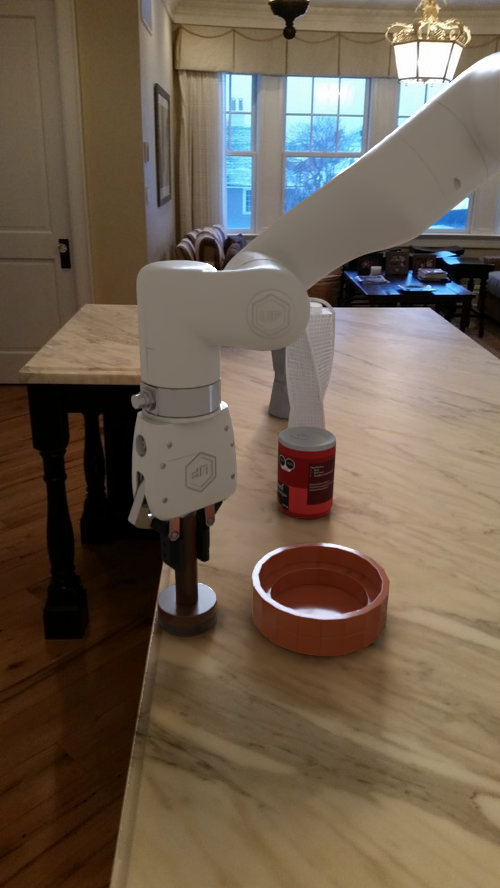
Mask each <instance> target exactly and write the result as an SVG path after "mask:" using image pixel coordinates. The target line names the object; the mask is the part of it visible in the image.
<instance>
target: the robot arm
mask: <svg viewBox="0 0 500 888" xmlns="http://www.w3.org/2000/svg"><path fill="white" fill-rule="evenodd" d="M499 172H500V51H497V52H494V53H491V54H489V55H487V56H485V57H483V58H481V59H479V60H477V61H476V62H475V63H473V64H472V65H471V66H470V67H468V68H467V69H465V70H464V71H463V72H461V73H460V74H459V75H458V76H457V77H456V78H454V79H453V80H452V81H451V82H449V83H448V84H447V85H446V86H445V87H444V88H443V89H442V90H440V91H439V92H438V93H436V95H434V96H433V97H431V99H429V100H428V101H427V102H425V104H423V105H422V106H421V107H420V108H418V109H417V110H416V111H415V112H414V113H413V114H412V115H410V116H409V117H408V118H407V119H406V120H405V121H404V122H402V123H401V124H400V125H399V126H398V127H396V128H395V129H394V130H393V131H391V132H390V133H389V134H388V135H387V136H385V137H384V138H383V139H382V140H381V141H379V142H378V143H377V144H376V145H374V146H373V147H372V148H371V149H369V150H368V151H367V152H366V153H365V154H363V155H362V156H360V158H358V159H357V160H356V161H355V162H353V163H352V164H350V165H349V166H347V167H345V168H344V169H343V170H341V171H340V172H338V173H337V174H336V175H335V176H334V177H332V178H331V179H330V180H328V181H327V182H326V183H325V184H324V185H322V186H321V187H320V188H318V189H316V190H315V191H314V192H313V193H311V194H310V195H309V196H308V195H307V197H305V198H304V199H303V200H301V201H300V202H298V203H297V204H296V205H294V206H293V207H292V208H290V209H289V210H287V212H285V213H283V215H281V216H280V217H279V218H277V219H276V220H275V221H273V222H272V223H271V224H270V225H269V226H268V227H267V228H265V229H264V230H263V231H262V232H260V233H259V234H257V236H255V238H254V239H252V240H251V241H250V242H249V243H247V244H246V245H245V246H244V247H242V249H240V250H239V251H238V252H237V253H236V254H235V255H234V256H233V257H232V258H231V259H230V260H229V261H228V262H227V264H226V265H225V267H224V268H223V270H217V269H216V268H215V267H213V265H211V264H209V263H206V262H203V261H197V260H186V259H185V260H184V259H183V260H182V259H175V260H174V259H173V260H161V261H154V262H150V263H148V264H145V265H144V266H142V267H141V269H140V270H139V271H138V274H137V276H136V285H135V286H136V287H135V289H136V305H137V306H136V308H137V328H138V330H137V331H138V346H139V347H138V349H139V369H140V382H139V390H140V391H139V392H138V393H136V394H132V395H131V398H130V401H131V405H132V407H133V408H134V410H139V409H142V410H140V411H138V412H137V414H136V421H135V425H134V432H133V441H132V456H131V485H132V496H133V502H132V506H131V508H130V512H129V515H128V518H127V522H128V523H129V525H132V526H133V527H135V528H136V529H143V530H144V529H145V530H154V531H155V532H157V533H159V543H160V557H161V560H162V562H163V563H164V565H167V566H168V567H169V568H171V570H172V569H173V570H174V572H175V571H176V572H178V573H181V572H184V570H185V540H184V538H183V537H181V536H180V516H183V515H186V514H188V513H191V512H194V511H196V525H197V560H198V561H200V562H202V563H206V562H209V561H210V547H211V529H210V528H211V527H212V526H213V525H214V524H215V523H216V514H217V512H218V511H219V510H220V508H221V506H222V505H223V503H224V501H226V500H227V499H228V498H230V497H231V496H232V495H234V493H235V492H236V490H237V485H238V468H237V467H238V463H237V451H236V440H235V433H234V426H233V421H232V417H231V414H230V413H231V412H230V409H229V406H228V404H227V403H226V402H224V401H223V400H222V357H221V356H222V347H229V348H236V349H243V350H249V351H259V352H260V351H261V352H269V351H270V352H271V351H272V350H278V349H281V348H284V347H286V346H288V345H290V344H292V343H293V342H295V341H296V340H297V339H298V338H299V337H300V336H301V335H302V334H303V332H304V331H305V329H306V327H307V325H308V322H309V319H310V311H311V306H310V302H311V301H310V300H309V297H310V296H309V294H308V290H309V289H311V288H312V287H313V286H314V285H315V284H317V283H318V282H320V281H321V280H322V279H324V278H325V277H326V276H328V275H329V274H331V273H332V272H334V271H335V270H337V269H339V268H340V267H342V266H343V265H345V264H347V263H349V262H350V261H351V262H352V261H353V260H355V259H357V258H359V257H362V256H364V255H368V254H372V253H375V252H379V251H384V250H388V249H392V248H395V247H397V246H400V245H403V244H404V243H405V244H406V243H408V242H410V241H411V240H415V239H416V238H418V237H420V236H421V235H422V234H424V233H425V232H426V231H427V230H429V229H430V228H431V227H433V225H434V224H436V223H437V222H438V221H440V220H441V219H442V218H443V217H445V216H446V215H447V214H448V213H449V212H450V211H452V210H453V209H454V208H456V207H457V206H458V205H459V204H460V203H462V202H463V201H464V200H466V199H467V198H468V197H469V196H470V195H472V194H473V193H474V192H476V191H477V190H478V189H479V188H480V187H482V186H483V185H484V184H485V183H487V182H488V181H489V180H491V179H492V178H493V177H494V176H496V175H497V174H498V173H499Z"/></svg>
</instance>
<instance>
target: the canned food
mask: <svg viewBox="0 0 500 888" xmlns="http://www.w3.org/2000/svg"><path fill="white" fill-rule="evenodd" d="M287 428H288V427H287ZM287 428H286V429H283V430H281V431H280V432H279V434H278V441H277V475H276V476H277V477H276V479H277V480H276V482H277V483H276V502H277V507H278V509H279V510H280V511H281V512H282V513H283V514H285V515H286V516H289V517H292V518H295V519H302V520H313V519H318V518H322V517H324V516H326V515H328V514H329V513H330V511H331V509H332V507H333V503H334V502H333V499H334V487H335V486H334V485H335V469H336V454H337V437H336V435H335V433H333V432H331V431H330V430H327V429H326V430H324V429H321V428H317V427H308V426H301V427H292V428H288V429H287Z"/></svg>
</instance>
